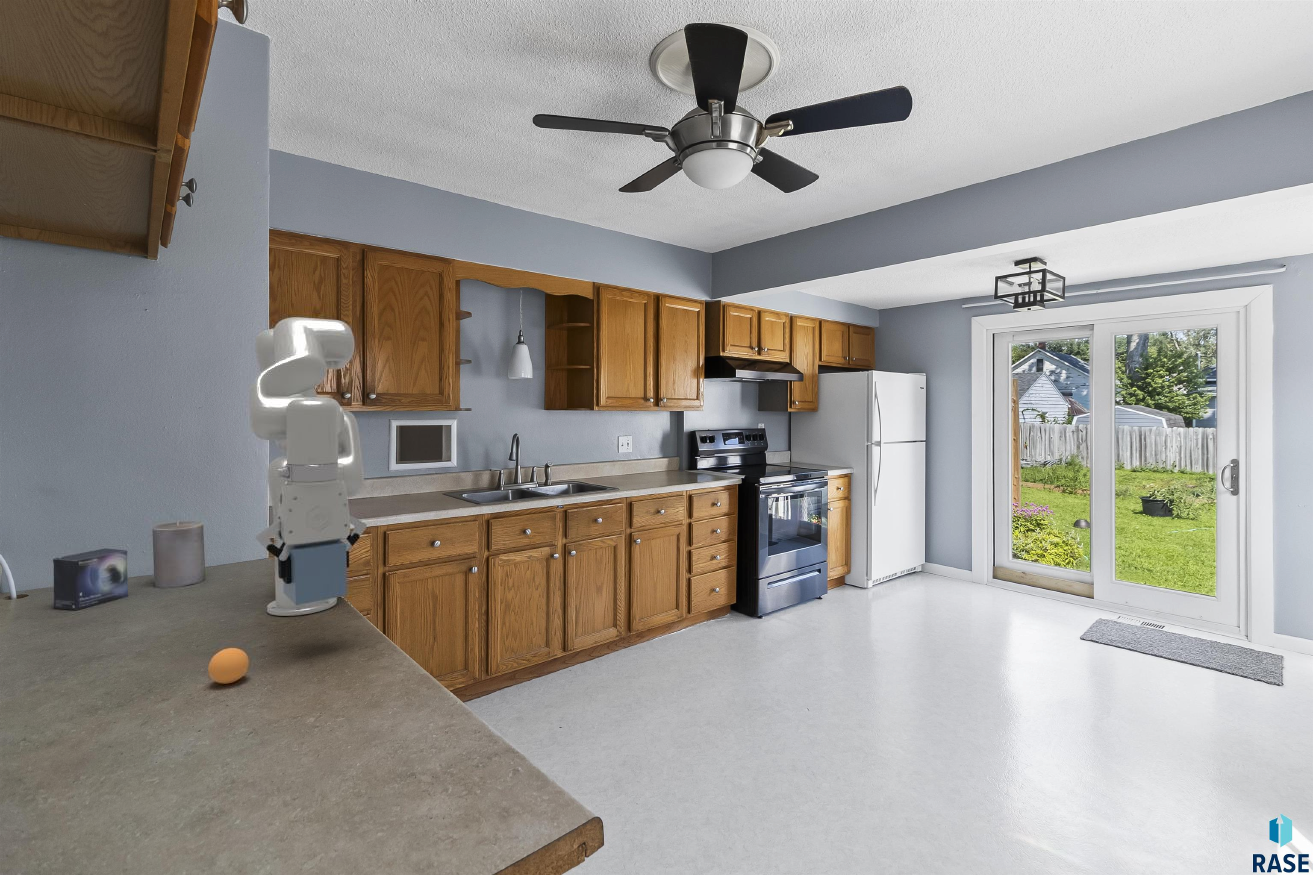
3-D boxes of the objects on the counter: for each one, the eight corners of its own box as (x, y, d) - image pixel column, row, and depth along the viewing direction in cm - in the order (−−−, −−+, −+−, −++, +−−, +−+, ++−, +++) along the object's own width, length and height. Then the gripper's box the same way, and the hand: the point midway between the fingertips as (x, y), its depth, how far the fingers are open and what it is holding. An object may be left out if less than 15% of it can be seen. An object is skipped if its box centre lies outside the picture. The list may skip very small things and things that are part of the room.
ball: (214, 677, 95) (213, 645, 95) (252, 672, 97) (251, 641, 97) (204, 691, 91) (203, 657, 90) (244, 686, 92) (243, 652, 92)
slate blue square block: (283, 592, 106) (282, 541, 106) (332, 584, 112) (332, 535, 111) (295, 605, 101) (294, 551, 100) (346, 595, 106) (346, 544, 105)
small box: (77, 611, 127) (75, 560, 127) (51, 609, 129) (49, 558, 128) (130, 596, 138) (128, 548, 137) (106, 594, 139) (104, 547, 139)
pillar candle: (169, 578, 153) (166, 516, 152) (213, 575, 155) (211, 515, 154) (144, 589, 143) (141, 524, 142) (192, 587, 145) (189, 522, 144)
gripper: (257, 480, 96) (260, 593, 97) (375, 472, 108) (376, 572, 109) (246, 475, 101) (249, 581, 103) (360, 467, 113) (361, 563, 115)
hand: (314, 576), depth 106 cm, fingers closed on slate blue square block, 7 cm apart
